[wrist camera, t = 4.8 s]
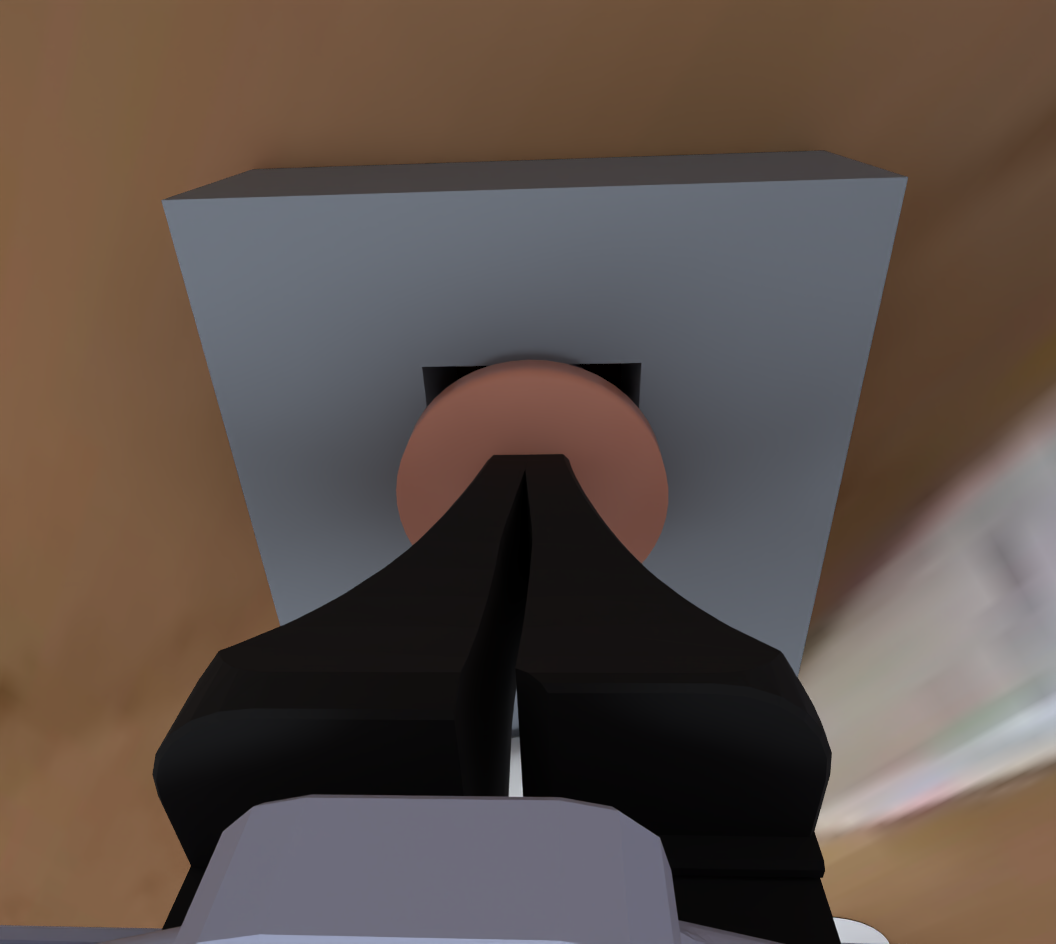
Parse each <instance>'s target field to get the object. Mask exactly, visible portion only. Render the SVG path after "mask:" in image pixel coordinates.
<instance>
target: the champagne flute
mask: <svg viewBox="0 0 1056 944" xmlns="http://www.w3.org/2000/svg"><path fill="white" fill-rule="evenodd" d="M833 920H834V923H835V926H836V929H837V932H838V935H839V938H840V941H841V943H871V944H889V942H888V940H887V939H886V938H885V937H884V936H883V935H882V934H881V933H880V932H878V931H877V930H875V929H874V928H872V927H870V926H867V925H865V924H863V923H860V922H856V921H852V920H848V919H841V918H833Z"/></svg>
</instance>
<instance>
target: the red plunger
mask: <svg viewBox="0 0 1056 944" xmlns="http://www.w3.org/2000/svg"><path fill="white" fill-rule="evenodd" d="M530 454H564V455H565V456H566V457H567V458H568V459H569V460H570V464H571V467H572V470H573V472H574V474H575V476H576V478H577V480H578V482H579V484H580V485H581V487H582V489H583V491H584V492H585V494H586V496H587V497H588V499H589V500H590V502H591V503H592V505H593V506H594V508H595V509H596V511H597V512H598V514H599V515H600V516H601V518H602V519H603V520H604V522H605V523H606V524H607V526H608V527H609V528H610V529H611V531H612V532H613V533H614V534H615V536H616V537H617V538H618V539H619V540H620V542H621V543H622V544H623V545H624V546H625V547H626V548H627V549H628V550H629V551H630V553H631V554H632V555H633V556H634V557H635V558H636V559H637V560H638V561H639V562H641V563H643V561H644V560H645V559H646V558H647V557H648V555H649V554H650V552H651V551H652V549H653V548H654V546H655V544H656V542H657V540H658V538H659V536H660V534H661V532H662V529H663V526H664V523H665V520H666V515H667V508H668V483H667V476H666V471H665V467H664V463H663V460H662V456H661V452H660V449H659V446H658V442H657V439H656V436H655V434H654V432H653V430H652V428H651V426H650V424H649V422H648V420H647V419H646V418H645V416H644V415H643V413H642V412H641V410H640V409H639V408H638V407H637V406H636V404H635V403H634V402H633V401H632V400H631V399H630V398H629V397H628V396H627V395H626V394H624V393H623V392H622V391H621V390H620V389H618V388H617V387H616V386H615V385H613V384H611V383H610V382H608V381H607V380H605V379H603V378H602V377H600V376H598V375H596V374H594V373H591V372H589V371H587V370H585V369H583V368H582V367H581V366H580V365H579V364H565V363H560V362H554V361H548V360H517V361H508V362H503V363H499V364H494V365H490V366H487V367H485V368H482V369H479V370H476V371H474V372H472V373H470V374H468V375H466V376H464V377H462V378H460V379H458V380H457V381H455V382H454V383H452V384H451V385H450V386H448V387H447V388H445V389H444V390H443V391H442V392H441V393H440V394H439V395H438V396H436V397H435V398H434V399H433V400H432V402H431V403H430V404H429V405H428V406H427V408H426V409H425V410H424V411H423V413H422V415H421V416H420V418H419V420H418V421H417V423H416V425H415V427H414V429H413V432H412V434H411V436H410V439H409V441H408V444H407V446H406V449H405V451H404V454H403V456H402V459H401V462H400V466H399V470H398V475H397V485H396V496H397V507H398V511H399V515H400V520H401V522H402V525H403V528H404V530H405V533H406V535H407V537H408V538H409V540H410V542H411V544H412V545H413V544H415V543H416V542H417V541H418V540H419V539H420V538H421V537H422V536H423V535H424V534H425V533H426V532H427V531H428V530H429V529H430V528H431V527H432V526H433V525H434V524H435V523H436V522H437V521H438V520H439V519H440V518H441V517H442V516H443V515H444V514H445V513H446V512H447V511H448V509H449V508H450V507H451V506H452V505H453V504H454V503H455V501H456V500H457V499H458V498H459V497H460V496H461V494H462V493H463V492H464V491H465V490H466V488H467V487H468V486H469V485H470V483H471V482H472V481H473V480H474V478H475V477H476V476H477V474H478V473H479V472H480V470H481V469H482V467H483V466H484V465H485V463H486V462H487V461H488V460H489V459H490V458H491V457H492V456H493V455H530Z"/></svg>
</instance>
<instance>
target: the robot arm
mask: <svg viewBox="0 0 1056 944" xmlns="http://www.w3.org/2000/svg"><path fill="white" fill-rule="evenodd" d="M516 688H517V705H518V721H519V738H520V755H521V772H522V788H523V797H509V779H510V759H511V738H512V721H513V712H514V702H515V695H516ZM831 756H832V752H831V749H830V746H829V744H828V741H827V737H826V734H825V731H824V729H823V726H822V723H821V721H820V718H819V716H818V714H817V712H816V710H815V707H814V705H813V704H812V702H811V700H810V698H809V696H808V695H807V693H806V691H805V689H804V688H803V686H802V684H801V682H800V681H799V679H798V677H797V676H796V674H795V672H794V671H793V669H792V667H791V666H790V664H789V662H788V661H787V659H786V657H785V656H784V654H783V653H782V652H781V651H780V650H778V649H776V648H773V647H771V646H769V645H767V644H765V643H763V642H761V641H759V640H757V639H755V638H753V637H751V636H749V635H747V634H745V633H743V632H741V631H739V630H737V629H735V628H732V627H730V626H729V625H727V624H725V623H723V622H722V621H720V620H718V619H717V618H715V617H713V616H712V615H710V614H708V613H707V612H705V611H703V610H702V609H700V608H698V607H697V606H695V605H694V604H692V603H691V602H689V601H688V600H686V599H685V598H683V597H682V596H681V595H679V594H678V593H677V592H675V591H674V590H673V589H671V588H670V587H669V586H667V585H666V584H665V583H663V582H662V581H661V580H659V579H658V578H657V577H656V576H655V575H653V574H652V573H651V572H650V571H649V570H648V569H647V568H646V567H645V566H644V565H643V564H642V563H641V562H639V561H638V560H637V559H636V558H635V557H634V556H633V555H632V554H631V553H630V551H629V550H628V549H627V548H626V547H625V546H624V545H623V544H622V543H621V542H620V540H619V539H618V538H617V537H616V536H615V534H614V533H613V532H612V531H611V529H610V528H609V527H608V526H607V524H606V523H605V522H604V520H603V519H602V518H601V516H600V515H599V514H598V512H597V511H596V509H595V508H594V506H593V505H592V503H591V502H590V500H589V499H588V497H587V496H586V494H585V492H584V491H583V489H582V487H581V485H580V484H579V482H578V480H577V478H576V476H575V474H574V472H573V470H572V467H571V464H570V460H569V459H568V458H567V457H566V456H565V455H564V454H530V455H493V456H492V457H491V458H490V459H489V460H488V461H487V462H486V463H485V465H484V466H483V467H482V469H481V470H480V472H479V473H478V474H477V476H476V477H475V478H474V480H473V481H472V482H471V483H470V485H469V486H468V487H467V488H466V490H465V491H464V492H463V493H462V494H461V496H460V497H459V498H458V499H457V500H456V501H455V503H454V504H453V505H452V506H451V507H450V508H449V509H448V511H447V512H446V513H445V514H444V515H443V516H442V517H441V518H440V519H439V520H438V521H437V522H436V523H435V524H434V525H433V526H432V527H431V528H430V529H429V530H428V531H427V532H426V533H425V534H424V535H423V536H422V537H421V538H420V539H419V540H418V541H417V542H416V543H415V544H413V545H412V546H411V547H410V548H409V549H408V550H407V551H405V552H404V553H403V554H401V555H400V556H399V557H398V558H396V559H395V560H394V561H393V562H391V563H390V564H389V565H387V566H386V567H384V568H383V569H382V570H380V571H379V572H377V573H375V574H374V575H372V576H371V577H369V578H368V579H366V580H365V581H363V582H362V583H360V584H359V585H357V586H355V587H354V588H352V589H351V590H349V591H348V592H346V593H345V594H343V595H341V596H339V597H338V598H336V599H334V600H332V601H330V602H328V603H327V604H325V605H323V606H321V607H319V608H317V609H315V610H313V611H311V612H309V613H307V614H305V615H303V616H301V617H299V618H297V619H295V620H293V621H291V622H289V623H287V624H285V625H282V626H280V627H278V628H275V629H273V630H270V631H268V632H266V633H263V634H261V635H258V636H256V637H253V638H251V639H248V640H246V641H244V642H241V643H239V644H236V645H234V646H231V647H228V648H226V649H223V650H220V651H219V652H218V653H217V655H216V656H215V658H214V659H213V660H212V662H211V663H210V665H209V666H208V668H207V669H206V670H205V672H204V673H203V675H202V676H201V678H200V679H199V680H198V682H197V684H196V686H195V687H194V689H193V691H192V692H191V694H190V696H189V697H188V699H187V701H186V702H185V704H184V706H183V708H182V709H181V711H180V713H179V715H178V716H177V718H176V720H175V722H174V723H173V725H172V727H171V728H170V730H169V732H168V734H167V735H166V737H165V739H164V741H163V742H162V744H161V746H160V748H159V749H158V751H157V753H156V756H155V762H154V768H153V778H154V782H155V786H156V789H157V793H158V796H159V798H160V801H161V803H162V805H163V807H164V809H165V811H166V813H167V815H168V818H169V820H170V822H171V824H172V826H173V828H174V830H175V832H176V835H177V837H178V839H179V841H180V843H181V845H182V847H183V849H184V852H185V854H186V856H187V858H188V860H189V862H190V864H191V867H190V870H189V872H188V874H187V876H186V878H185V880H184V883H183V885H182V887H181V889H180V891H179V894H178V896H177V898H176V900H175V902H174V904H173V907H172V909H171V911H170V913H169V915H168V918H167V920H166V922H165V924H164V926H163V928H162V929H154V928H106V927H58V926H10V925H0V944H871V943H841V941H840V938H839V935H838V932H837V929H836V926H835V923H834V920H833V917H832V914H831V910H830V907H829V904H828V901H827V898H826V895H825V892H824V889H823V886H822V883H821V880H820V878H823V875H824V872H825V866H824V859H823V856H822V853H821V850H820V847H819V844H818V841H817V838H816V835H815V832H814V830H815V827H816V823H817V820H818V816H819V813H820V809H821V805H822V802H823V798H824V795H825V791H826V788H827V784H828V780H829V777H830V770H831Z"/></svg>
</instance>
